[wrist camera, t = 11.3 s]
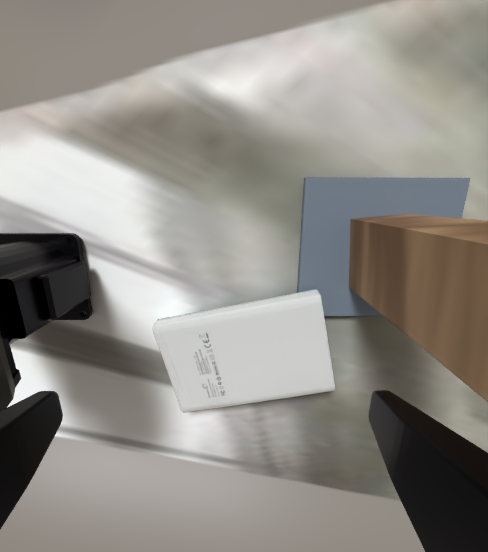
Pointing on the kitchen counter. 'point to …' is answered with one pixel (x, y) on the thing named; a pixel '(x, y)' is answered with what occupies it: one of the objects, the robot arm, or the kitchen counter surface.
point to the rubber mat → (358, 204)
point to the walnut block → (428, 285)
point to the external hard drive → (247, 352)
